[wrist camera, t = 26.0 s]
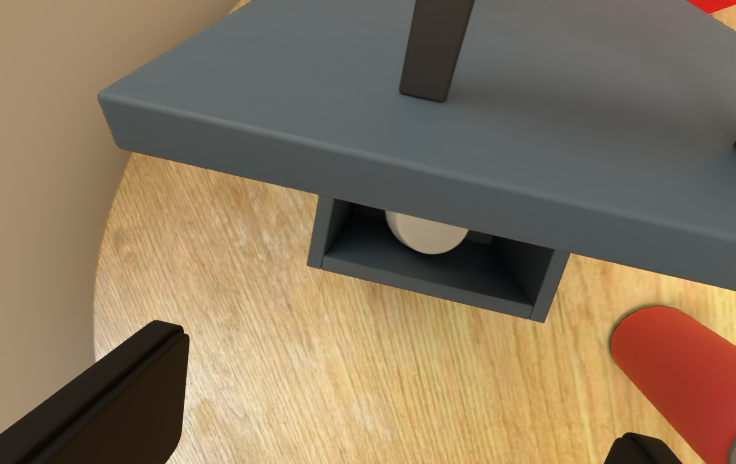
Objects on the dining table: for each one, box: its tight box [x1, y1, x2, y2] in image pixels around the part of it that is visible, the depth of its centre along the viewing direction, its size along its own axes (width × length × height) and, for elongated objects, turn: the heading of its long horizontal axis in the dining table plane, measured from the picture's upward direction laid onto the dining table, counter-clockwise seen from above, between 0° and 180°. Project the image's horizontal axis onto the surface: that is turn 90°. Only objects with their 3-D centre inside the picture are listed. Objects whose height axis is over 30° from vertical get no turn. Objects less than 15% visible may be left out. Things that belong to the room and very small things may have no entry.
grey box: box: [307, 195, 570, 323], centre depth 23 cm, size 15×13×12 cm
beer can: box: [611, 307, 736, 464], centre depth 25 cm, size 7×7×12 cm
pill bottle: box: [385, 210, 469, 254], centre depth 25 cm, size 5×5×10 cm
